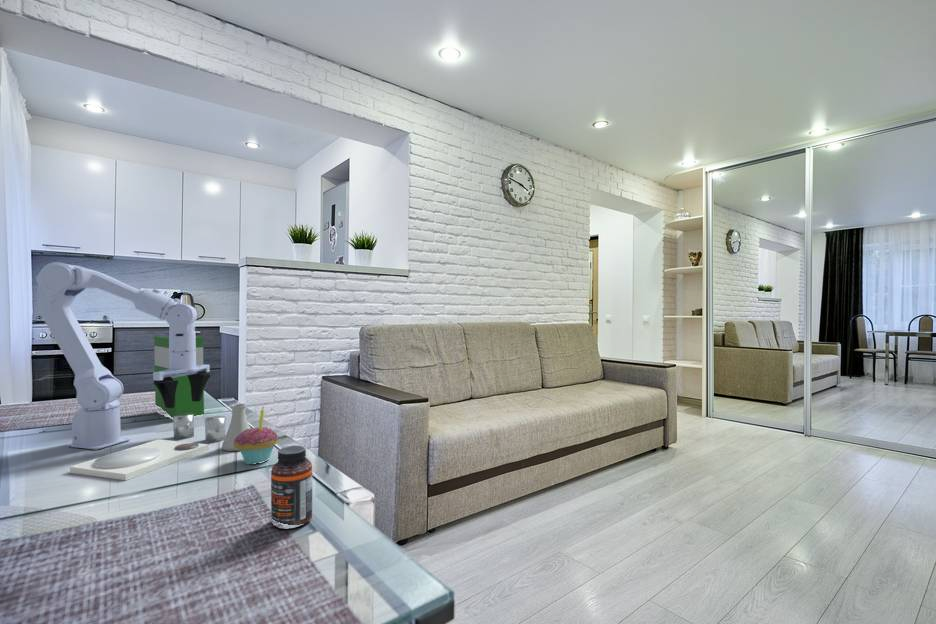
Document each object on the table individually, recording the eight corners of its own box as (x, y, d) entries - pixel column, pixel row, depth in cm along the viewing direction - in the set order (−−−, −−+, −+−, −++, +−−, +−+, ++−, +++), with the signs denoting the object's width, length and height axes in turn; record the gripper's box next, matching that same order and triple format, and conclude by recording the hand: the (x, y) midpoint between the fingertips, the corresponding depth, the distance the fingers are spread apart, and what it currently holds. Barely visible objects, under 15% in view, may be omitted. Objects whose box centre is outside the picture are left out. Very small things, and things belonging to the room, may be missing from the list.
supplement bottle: (262, 529, 67) (261, 454, 67) (285, 511, 73) (284, 442, 73) (299, 533, 66) (298, 456, 66) (319, 514, 72) (319, 443, 72)
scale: (69, 472, 90) (69, 463, 90) (158, 444, 108) (158, 436, 108) (126, 480, 86) (125, 471, 86) (208, 449, 104) (208, 441, 104)
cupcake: (286, 456, 99) (286, 402, 99) (257, 470, 91) (256, 411, 91) (256, 452, 102) (255, 400, 102) (224, 465, 94) (223, 408, 94)
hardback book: (155, 412, 141) (154, 336, 140) (182, 408, 146) (181, 334, 146) (176, 421, 129) (174, 338, 129) (204, 416, 135) (202, 337, 135)
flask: (242, 453, 102) (241, 409, 102) (214, 451, 103) (213, 407, 103) (262, 443, 109) (262, 402, 109) (236, 441, 110) (236, 401, 110)
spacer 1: (169, 438, 113) (169, 417, 113) (184, 433, 117) (184, 412, 117) (183, 440, 112) (182, 418, 112) (198, 435, 116) (197, 414, 116)
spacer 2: (201, 441, 110) (200, 419, 110) (215, 436, 114) (215, 415, 114) (215, 443, 109) (215, 420, 109) (229, 438, 113) (229, 416, 113)
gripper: (168, 354, 106) (169, 411, 106) (218, 348, 120) (219, 399, 120) (145, 353, 108) (147, 410, 108) (197, 348, 122) (198, 397, 122)
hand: (183, 404), depth 114 cm, fingers open, 7 cm apart
